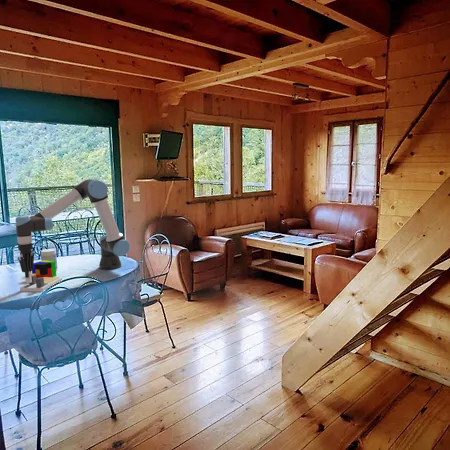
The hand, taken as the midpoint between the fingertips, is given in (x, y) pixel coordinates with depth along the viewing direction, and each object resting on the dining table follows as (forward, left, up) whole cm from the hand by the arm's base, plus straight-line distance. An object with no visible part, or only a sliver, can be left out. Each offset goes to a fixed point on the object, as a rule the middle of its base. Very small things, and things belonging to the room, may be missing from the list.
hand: (29, 282), depth 225 cm
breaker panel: (-4, -6, -4) cm, 8 cm away
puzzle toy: (+5, -24, -4) cm, 25 cm away
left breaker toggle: (-8, +2, -2) cm, 8 cm away
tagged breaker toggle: (0, -3, -2) cm, 4 cm away
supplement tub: (+10, -39, -4) cm, 40 cm away
